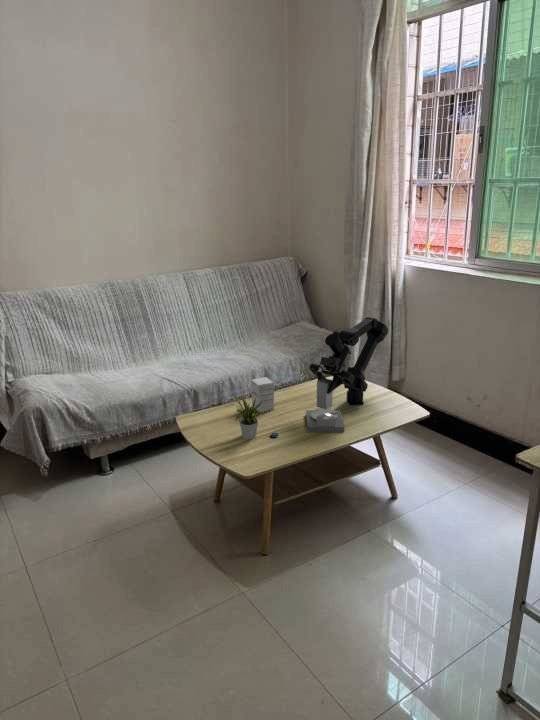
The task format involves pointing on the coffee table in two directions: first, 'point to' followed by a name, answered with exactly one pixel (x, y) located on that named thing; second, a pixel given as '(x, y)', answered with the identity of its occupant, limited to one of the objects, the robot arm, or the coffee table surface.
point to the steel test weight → (324, 393)
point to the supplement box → (263, 394)
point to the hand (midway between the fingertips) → (322, 392)
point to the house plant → (248, 419)
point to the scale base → (324, 429)
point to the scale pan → (323, 413)
